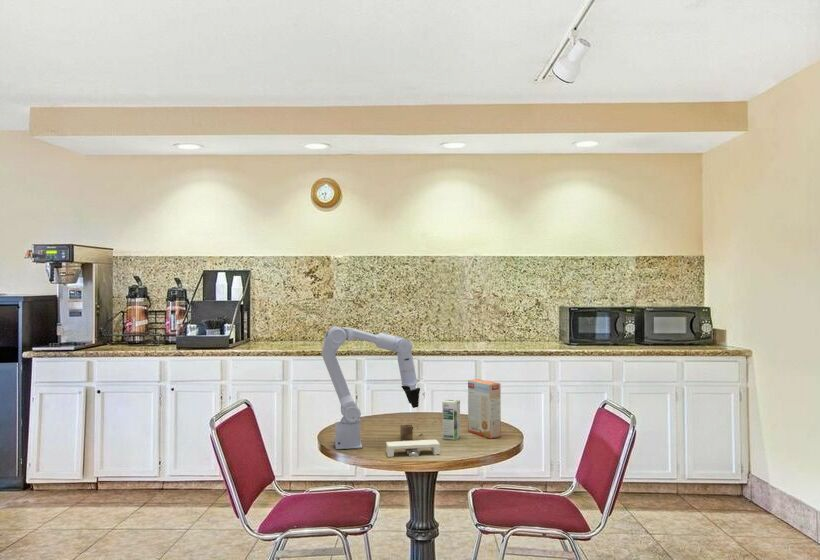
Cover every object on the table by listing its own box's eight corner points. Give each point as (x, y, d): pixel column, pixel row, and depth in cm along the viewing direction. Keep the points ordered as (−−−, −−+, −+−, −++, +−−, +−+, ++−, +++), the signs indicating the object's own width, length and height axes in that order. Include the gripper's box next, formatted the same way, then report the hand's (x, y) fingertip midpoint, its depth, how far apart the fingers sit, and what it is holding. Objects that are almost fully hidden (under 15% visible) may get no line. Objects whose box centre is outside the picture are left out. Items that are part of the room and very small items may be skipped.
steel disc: (408, 457, 189) (408, 453, 189) (406, 453, 194) (406, 449, 194) (420, 456, 190) (420, 452, 190) (418, 453, 194) (418, 449, 194)
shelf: (388, 457, 189) (388, 446, 189) (386, 452, 195) (386, 441, 195) (439, 454, 192) (439, 444, 192) (436, 449, 198) (436, 439, 198)
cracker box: (501, 437, 214) (501, 383, 215) (489, 439, 211) (489, 384, 212) (479, 429, 227) (479, 378, 227) (467, 431, 223) (467, 379, 224)
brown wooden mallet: (406, 452, 194) (406, 435, 195) (400, 440, 210) (400, 425, 210) (417, 452, 195) (417, 434, 195) (410, 440, 210) (410, 424, 211)
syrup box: (442, 439, 212) (441, 401, 212) (446, 435, 218) (446, 398, 218) (456, 440, 210) (456, 401, 210) (460, 436, 216) (460, 399, 216)
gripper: (420, 370, 202) (427, 406, 202) (414, 364, 216) (420, 398, 216) (402, 374, 201) (408, 411, 201) (396, 368, 215) (403, 402, 215)
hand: (413, 405), depth 209 cm, fingers open, 7 cm apart
